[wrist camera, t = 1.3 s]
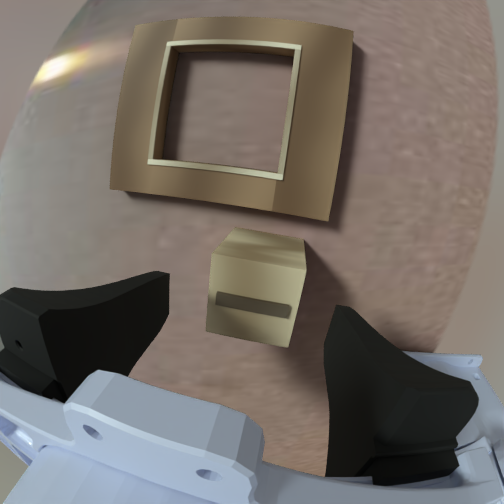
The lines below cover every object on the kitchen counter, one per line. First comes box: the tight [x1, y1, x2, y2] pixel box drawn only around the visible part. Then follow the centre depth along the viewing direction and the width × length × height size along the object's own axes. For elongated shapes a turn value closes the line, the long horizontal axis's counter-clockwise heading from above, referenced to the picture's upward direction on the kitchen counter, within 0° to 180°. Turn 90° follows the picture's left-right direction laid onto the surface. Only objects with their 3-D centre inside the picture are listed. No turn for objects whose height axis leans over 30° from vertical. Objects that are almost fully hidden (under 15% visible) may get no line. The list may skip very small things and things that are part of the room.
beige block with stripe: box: [206, 227, 307, 348], centre depth 15 cm, size 4×4×5 cm
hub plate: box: [110, 17, 353, 221], centre depth 14 cm, size 13×11×1 cm
